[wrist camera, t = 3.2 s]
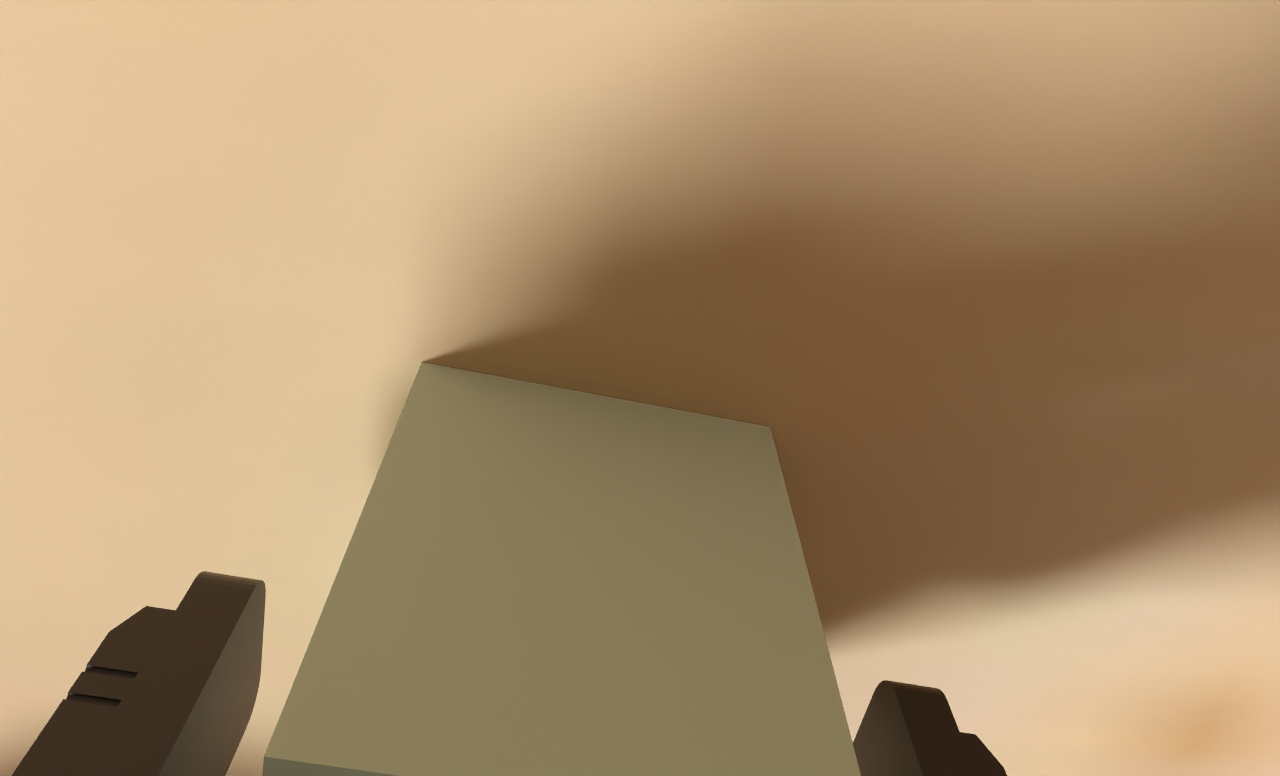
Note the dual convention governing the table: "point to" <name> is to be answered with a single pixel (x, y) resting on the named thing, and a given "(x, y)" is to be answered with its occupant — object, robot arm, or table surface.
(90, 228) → the table surface
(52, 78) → the table surface
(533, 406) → the sage block
